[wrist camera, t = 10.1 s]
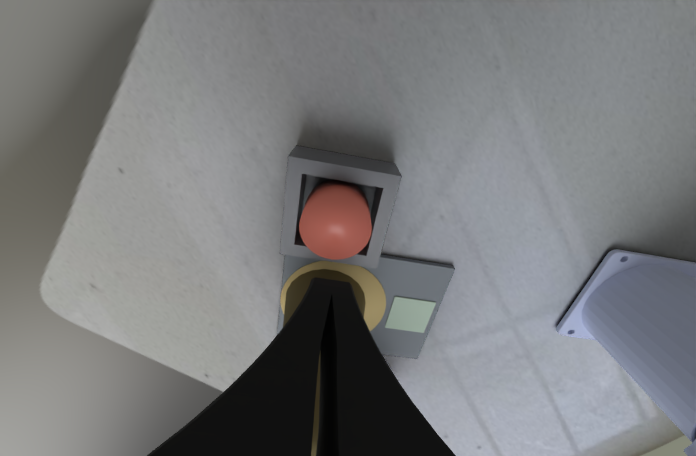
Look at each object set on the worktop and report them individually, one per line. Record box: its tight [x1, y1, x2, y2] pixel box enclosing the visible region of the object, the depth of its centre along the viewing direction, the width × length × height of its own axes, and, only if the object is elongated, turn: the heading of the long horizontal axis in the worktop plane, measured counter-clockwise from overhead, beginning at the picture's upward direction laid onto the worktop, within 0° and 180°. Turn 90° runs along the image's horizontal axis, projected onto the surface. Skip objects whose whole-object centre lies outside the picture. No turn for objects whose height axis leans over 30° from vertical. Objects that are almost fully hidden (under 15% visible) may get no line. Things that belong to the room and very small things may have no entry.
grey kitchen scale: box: [277, 254, 455, 359], centre depth 23 cm, size 12×10×1 cm
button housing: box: [280, 145, 402, 269], centre depth 18 cm, size 6×6×3 cm
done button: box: [299, 180, 372, 260], centre depth 16 cm, size 4×4×2 cm
